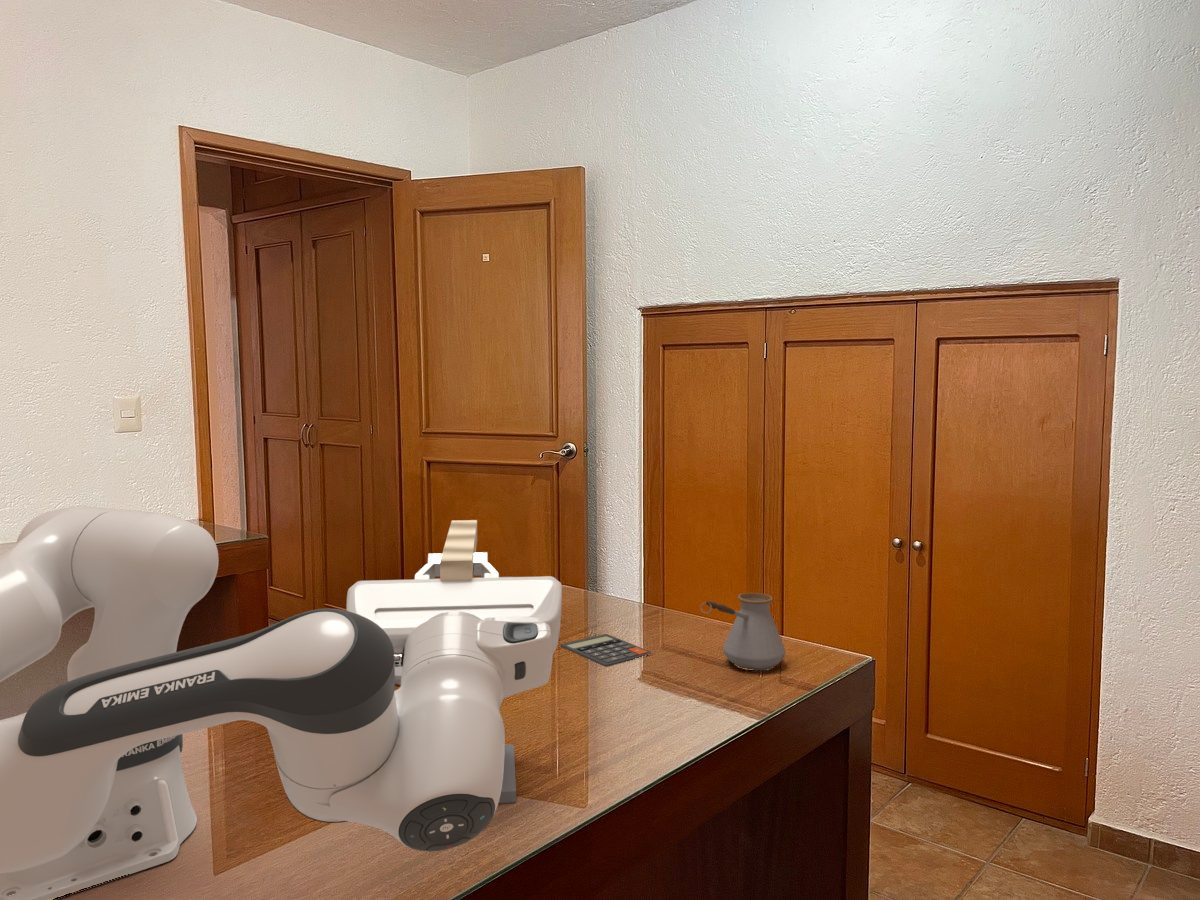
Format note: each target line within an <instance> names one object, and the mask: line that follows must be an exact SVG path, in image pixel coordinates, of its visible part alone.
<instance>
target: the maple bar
mask: <svg viewBox="0 0 1200 900" xmlns="http://www.w3.org/2000/svg"><path fill="white" fill-rule="evenodd" d="M445 539H446V540H445V543H444V546H443V549H442V550H443V551H442V552H441V553H442V556H441V560H440V576H439V578H440V580H470V579H472V578H473V577H474V575H473V553H477V547H478V519H470V520H468V519H467V520H465V519H464V520H462V519H461V520H457V519H456V520H451V521H450V525H449V528H448V532H447V536H446V538H445Z"/></svg>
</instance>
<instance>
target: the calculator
mask: <svg viewBox="0 0 1200 900" xmlns="http://www.w3.org/2000/svg"><path fill="white" fill-rule="evenodd" d="M559 645H560V646H559V647H560V648H563V649H565V650H568V651H570V652H571V653H575V654H576V655H579V656H581V657H583V658H585V659H587V660H589V659H590V660H589V661H591V662H594V663H596V664H599V665H601V666H603V667H605V668H606V667H607V668H608V667H611V666H615V665H618V664H622V663H623V664H624V663H625V662H626V661H627V662H630V660H631V661H634V660H633V659H635V658H639V657H642V656H645V655H648V654H651V652H652V651H650V650H648V649H645V648H642V647H640V646H638V645H635V644H633V643H631V642H628V641H625V640H623V639H620V638H618V637H615V636H613V635H610V634H608V633H604V634H599V635H594V636H590V637H586V638H582V639H578V640H573V641H569V642H564V643H560V644H559ZM639 659H640V658H639ZM635 660H636V659H635ZM627 662H626V663H627Z"/></svg>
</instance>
